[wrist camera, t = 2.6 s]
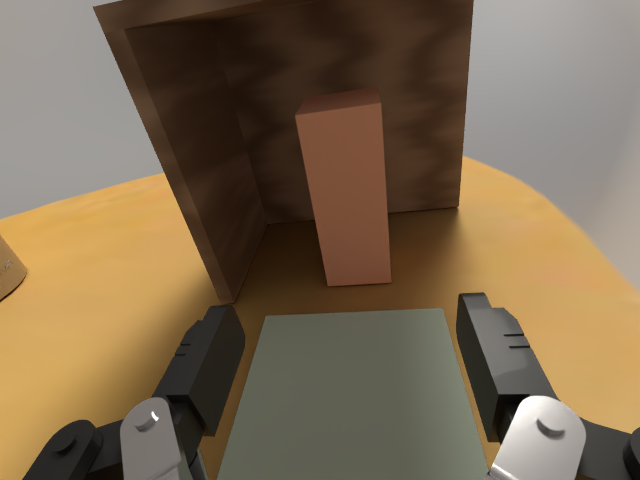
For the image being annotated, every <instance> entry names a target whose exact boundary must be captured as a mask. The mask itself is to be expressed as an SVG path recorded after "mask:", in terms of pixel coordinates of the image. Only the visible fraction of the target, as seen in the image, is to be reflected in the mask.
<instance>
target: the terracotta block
mask: <svg viewBox="0 0 640 480" xmlns="http://www.w3.org/2000/svg"><path fill="white" fill-rule="evenodd" d="M295 118H296V123H297V128H298V134H299V139H300V144H301V149H302V154H303V160H304V165H305V170H306V175H307V180H308V186H309V191H310V196H311V201H312V206H313V212H314V217H315V222H316V227H317V232H318V237H319V243H320V248H321V253H322V258H323V263H324V269H325V274H326V279H327V284H328V286H341V285H358V284H375V283H392V282H391V265H390V248H389V231H388V213H387V196H386V179H385V162H384V144H383V127H382V110H381V101H380V97H379V93H378V89H377V87H372V88H365V89H359V90H352V91H346V92H339V93H332V94H326V95H319V96H313V97H306V98H305V100H304V101H303V103H302V105H301V106H300V108H299V110H298V111H297V113H296V115H295Z"/></svg>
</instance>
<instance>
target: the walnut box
mask: <svg viewBox="0 0 640 480" xmlns="http://www.w3.org/2000/svg"><path fill="white" fill-rule="evenodd" d="M473 2H474V0H122V1H117V2H113V3H108V4H104V5H99V6H95V7H93V9H94V11H95V14H96V16H97V18H98V20H99V23H100V25H101V27H102V30H103V32H104V34H105V37H106V39H107V41H108V44H109V46H110V48H111V50H112V53H113V55H114V57H115V60H116V62H117V64H118V67H119V69H120V71H121V74H122V76H123V78H124V80H125V83H126V85H127V87H128V90H129V92H130V94H131V97H132V99H133V101H134V103H135V106H136V108H137V110H138V113H139V115H140V117H141V120H142V122H143V124H144V127H145V129H146V131H147V133H148V136H149V138H150V140H151V143H152V145H153V147H154V150H155V152H156V154H157V157H158V159H159V161H160V163H161V166H162V168H163V170H164V173H165V175H166V177H167V180H168V182H169V184H170V187H171V189H172V191H173V193H174V196H175V198H176V200H177V203H178V205H179V207H180V210H181V212H182V214H183V216H184V219H185V221H186V223H187V226H188V228H189V230H190V233H191V235H192V237H193V240H194V242H195V244H196V246H197V249H198V251H199V253H200V256H201V258H202V260H203V263H204V265H205V267H206V270H207V272H208V274H209V276H210V279H211V281H212V283H213V286H214V288H215V290H216V293H217V295H218V297H219V299H220V302H221V304H224V303H234V302H235V300H236V298H237V295H238V293H239V291H240V288H241V286H242V284H243V281H244V279H245V276H246V274H247V272H248V269H249V267H250V265H251V262H252V260H253V258H254V255H255V253H256V250H257V248H258V246H259V243H260V241H261V239H262V236H263V234H264V232H265V229H266V227H267V224H273V223H284V222H295V221H306V220H315V217H314V212H313V206H312V201H311V196H310V191H309V186H308V180H307V175H306V170H305V165H304V160H303V154H302V149H301V144H300V139H299V134H298V128H297V123H296V118H295V115H296V113H297V111H298V110H299V108H300V106H301V105H302V103H303V101H304V100H305V98H306V97H313V96H319V95H326V94H332V93H339V92H346V91H352V90H359V89H365V88H372V87H377V89H378V93H379V97H380V101H381V110H382V127H383V144H384V162H385V179H386V196H387V213H393V212H404V211H415V210H426V209H437V208H448V207H458V206H459V196H460V182H461V168H462V154H463V140H464V126H465V113H466V98H467V85H468V71H469V56H470V42H471V29H472V15H473Z"/></svg>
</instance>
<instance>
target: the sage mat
mask: <svg viewBox="0 0 640 480" xmlns="http://www.w3.org/2000/svg"><path fill="white" fill-rule="evenodd" d="M488 472H489V469H488V465H487V462H486V458H485V455H484V451H483V448H482V444H481V441H480V437H479V434H478V430H477V427H476V423H475V420H474V416H473V413H472V409H471V406H470V402H469V399H468V395H467V392H466V388H465V385H464V381H463V378H462V374H461V371H460V367H459V364H458V360H457V357H456V353H455V350H454V346H453V343H452V339H451V336H450V332H449V329H448V325H447V322H446V318H445V315H444V311H443V308H426V309H404V310H382V311H361V312H339V313H317V314H295V315H273V316H266V317H265V320H264V324H263V327H262V330H261V333H260V337H259V340H258V343H257V347H256V350H255V353H254V357H253V360H252V363H251V367H250V370H249V373H248V377H247V380H246V383H245V387H244V390H243V393H242V396H241V400H240V403H239V406H238V410H237V413H236V416H235V420H234V423H233V426H232V430H231V433H230V436H229V440H228V443H227V446H226V449H225V453H224V456H223V459H222V463H221V466H220V469H219V473H218V476H217V479H216V480H484V478H485V476H486V474H487V473H488Z"/></svg>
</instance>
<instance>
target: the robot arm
mask: <svg viewBox="0 0 640 480" xmlns="http://www.w3.org/2000/svg"><path fill="white" fill-rule="evenodd" d="M26 273H27V268H26V267H25V266H24V264H23V263H22V262H21V261H20V259H19V258H18V257H17V256H16V254H15V253H14V252H13V250H12V249H11V248H10V247H9V245H8V244H7V243H6V242H5V240H4V239H3V238H2V237H1V235H0V299H1V298H3V297H4V296H6V295H7V294H8V293H10V292H11V291H12V290H13V289H14V288H15V287H16V286H18V285H19V284H20V282H21V281H22V280H23V279H24V277H25V275H26ZM456 333H457V340H458V344H459V347H460V350H461V354H462V357H463V360H464V364H465V367H466V370H467V374H468V377H469V380H470V384H471V387H472V390H473V393H474V397H475V400H476V403H477V407H478V410H479V413H480V417H481V420H482V423H483V427H484V430H485V433H486V436H487V440H488V442H500V444H501V447H500V450H499V452H498V454H497V456H496V458H495V461H494V463H493V465H492V467H491V469H490V471H489V472H488V473H487V474H486V476H485V478H484V480H640V427H639V428H637V429H636V430H635V431H634V432H633V433H632V434H629V433H626V432H622V431H619V430H615V429H612V428H608V427H604V426H601V425H597V424H594V423H591V422H589V421H587V420H584V419H582V418H581V417H579V416H577V414H576V413H575V412H574V411H573V410H572V409H570V408H569V407H568V406H566V405H565V404H564V403H562V402H561V401H560V400H559V399H558V398H557V396H556V394H555V393H554V391H553V389H552V387H551V385H550V383H549V381H548V379H547V377H546V375H545V373H544V371H543V370H542V368H541V366H540V364H539V362H538V360H537V358H536V356H535V354H534V352H533V350H532V349H531V348H530V344H529V342H528V340H527V338H526V337H525V336H524V333H523V331H522V329H521V327H520V325H519V323H518V321H517V319H516V318H514V317H513V316H512V315H511V314H510V313H509V312H508V311H507V310H505V309H504V308H491V305H490V303H489V301H488V299H487V297H486V295H485V293H483V292H482V293H462V294H459V297H458V308H457V320H456ZM244 347H245V334H244V331H243V328H242V326H241V323H240V321H239V319H238V316H237V314H236V311H235V309H234V307H233V306H232V305H218V306H211V307H210V308H209V309H208V311H207V313H206V315H205V317H204V319H203V320H201V321H197V322H196V323H195V324H194V325H193V326H192V327H191V328H190V329H189V330H188V331H187V332H186V334H185V336H184V338H183V340H182V341H181V343H180V347H178V349H177V351H176V353H175V357H173V358H172V360H171V362H170V364H169V366H168V368H167V370H166V371H165V373H164V375H163V377H162V379H161V381H160V383H159V384H158V386H157V388H156V390H155V392H154V394H153V395H152V397H151V398H149V399H147V400H144V401H142V402H141V403H139V404H138V405H136V406H135V407H134V408H133V409H132V410H131V411H130V412H129V413H128V414H127V415H126V417H125V418H124V419H123V420H119V421H116V422H113V423H110V424H107V425H104V426H101V427H98V428H96V427H95V426H94V425H93V424H92V423H91V422H90V421H88V420H78V421H74V422H72V423H70V424H68V425H66V426H65V427H63V428H62V429H60V430H59V431H58V432H57V433H56V434H54V435H53V436H52V438H51V439H50V440H49V441H48V442H47V444H46V445H45V447H44V448H43V450H42V451H41V452H40V454H39V455H38V457H37V458H36V460H35V461H34V463H33V464H32V466H31V467H30V469H29V470H28V472H27V473H26V475H25V476H24V478H23V479H22V480H209V479H208V475H207V472H206V468H205V465H204V462H203V458H202V455H201V451H200V449H199V447H198V446H199V443H200V441H201V438H202V436H215V434H216V431H217V428H218V425H219V422H220V419H221V416H222V413H223V410H224V407H225V404H226V401H227V398H228V395H229V392H230V389H231V386H232V383H233V380H234V377H235V374H236V371H237V368H238V365H239V362H240V360H241V357H242V354H243V351H244Z"/></svg>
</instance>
